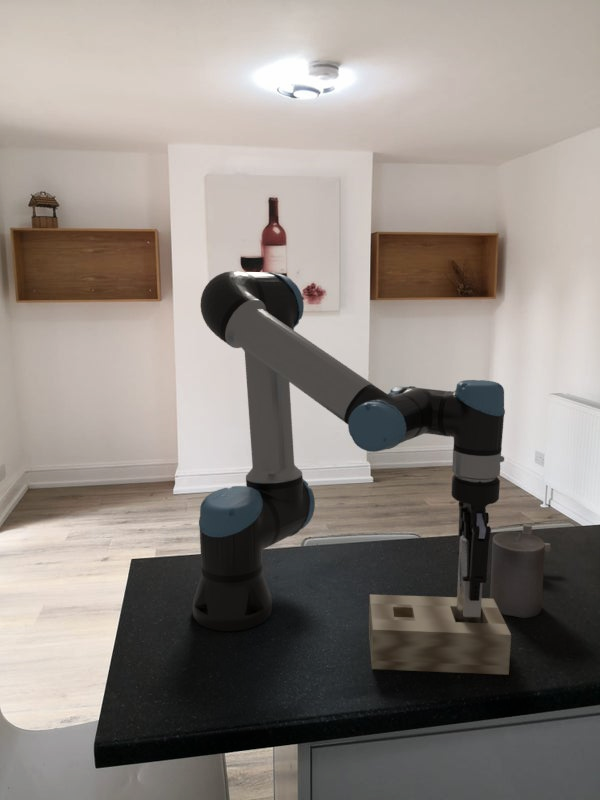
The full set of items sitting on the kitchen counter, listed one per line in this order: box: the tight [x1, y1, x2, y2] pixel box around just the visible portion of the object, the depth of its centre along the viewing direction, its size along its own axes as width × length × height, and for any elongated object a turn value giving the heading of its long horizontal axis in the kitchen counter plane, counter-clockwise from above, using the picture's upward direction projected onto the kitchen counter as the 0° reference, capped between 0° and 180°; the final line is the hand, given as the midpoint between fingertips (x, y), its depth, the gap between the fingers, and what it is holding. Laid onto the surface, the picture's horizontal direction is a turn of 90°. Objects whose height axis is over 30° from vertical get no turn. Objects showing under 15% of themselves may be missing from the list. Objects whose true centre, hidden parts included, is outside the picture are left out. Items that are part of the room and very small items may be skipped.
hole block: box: [368, 594, 512, 676], centre depth 108 cm, size 22×12×7 cm, turn 86°
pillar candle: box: [489, 530, 546, 619], centre depth 122 cm, size 10×10×15 cm
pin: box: [456, 535, 482, 623], centre depth 106 cm, size 4×4×18 cm
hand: (468, 608), depth 106 cm, fingers closed on pin, 4 cm apart
